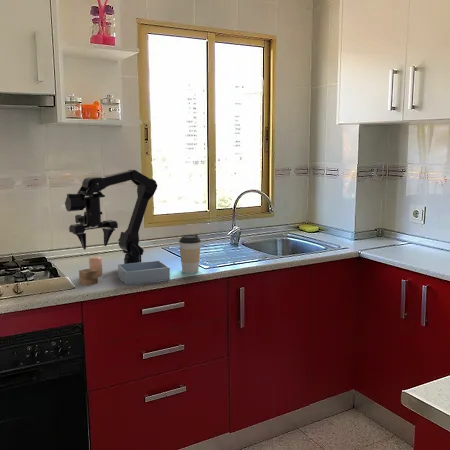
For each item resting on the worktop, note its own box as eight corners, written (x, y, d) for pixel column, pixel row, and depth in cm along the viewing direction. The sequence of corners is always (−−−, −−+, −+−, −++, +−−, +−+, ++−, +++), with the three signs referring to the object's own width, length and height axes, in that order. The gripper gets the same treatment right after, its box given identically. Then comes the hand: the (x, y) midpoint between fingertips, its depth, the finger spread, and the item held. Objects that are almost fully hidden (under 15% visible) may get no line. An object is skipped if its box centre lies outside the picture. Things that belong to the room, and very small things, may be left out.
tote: (160, 272, 208) (159, 260, 208) (169, 280, 197) (169, 267, 196) (118, 276, 202) (118, 264, 201) (126, 285, 190) (125, 272, 189)
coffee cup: (183, 274, 205) (182, 238, 203) (176, 269, 213) (175, 234, 211) (204, 272, 209) (204, 236, 206) (196, 267, 217) (196, 232, 214)
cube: (91, 280, 196) (91, 268, 196) (97, 283, 193) (97, 270, 192) (79, 283, 193) (78, 270, 192) (85, 285, 189) (85, 272, 189)
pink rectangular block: (98, 272, 208) (97, 256, 207) (104, 274, 205) (104, 258, 204) (87, 274, 205) (86, 257, 204) (93, 277, 201) (92, 260, 200)
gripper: (103, 205, 212) (105, 241, 215) (61, 209, 200) (64, 248, 203) (117, 207, 204) (119, 245, 207) (74, 212, 192) (77, 252, 195)
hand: (95, 247), depth 203 cm, fingers open, 9 cm apart
